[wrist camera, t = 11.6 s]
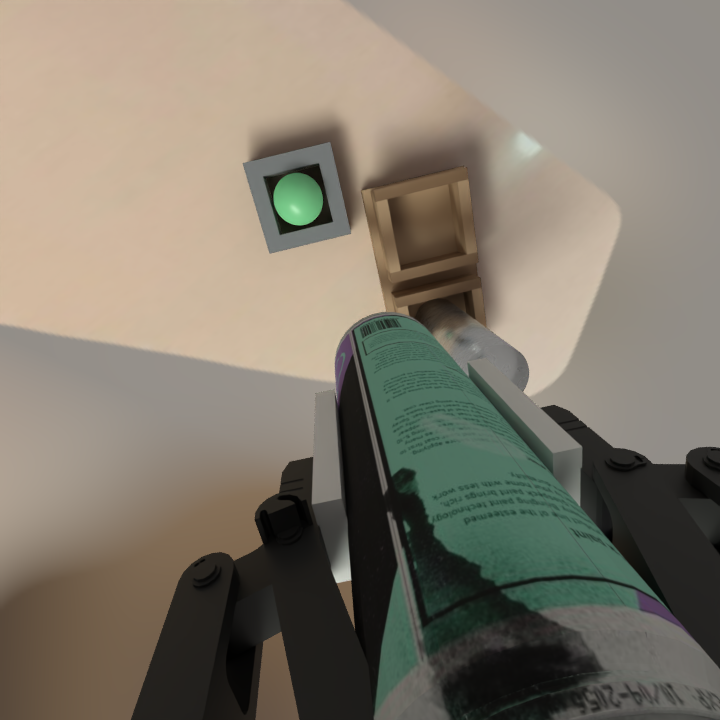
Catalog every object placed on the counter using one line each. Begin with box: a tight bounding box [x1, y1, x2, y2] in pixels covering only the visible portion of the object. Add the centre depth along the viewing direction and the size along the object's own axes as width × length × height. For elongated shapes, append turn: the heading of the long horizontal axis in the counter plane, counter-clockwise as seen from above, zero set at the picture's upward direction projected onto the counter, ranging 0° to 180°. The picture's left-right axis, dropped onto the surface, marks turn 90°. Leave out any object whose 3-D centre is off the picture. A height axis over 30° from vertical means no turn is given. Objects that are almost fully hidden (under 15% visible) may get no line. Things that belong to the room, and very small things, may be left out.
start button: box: [274, 173, 323, 225], centre depth 38 cm, size 4×4×3 cm
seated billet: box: [415, 298, 529, 392], centre depth 37 cm, size 5×5×16 cm
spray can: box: [335, 312, 720, 720], centre depth 12 cm, size 6×6×20 cm
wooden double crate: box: [361, 166, 487, 328], centre depth 42 cm, size 19×10×4 cm, turn 13°
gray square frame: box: [243, 142, 351, 253], centre depth 39 cm, size 8×8×2 cm
